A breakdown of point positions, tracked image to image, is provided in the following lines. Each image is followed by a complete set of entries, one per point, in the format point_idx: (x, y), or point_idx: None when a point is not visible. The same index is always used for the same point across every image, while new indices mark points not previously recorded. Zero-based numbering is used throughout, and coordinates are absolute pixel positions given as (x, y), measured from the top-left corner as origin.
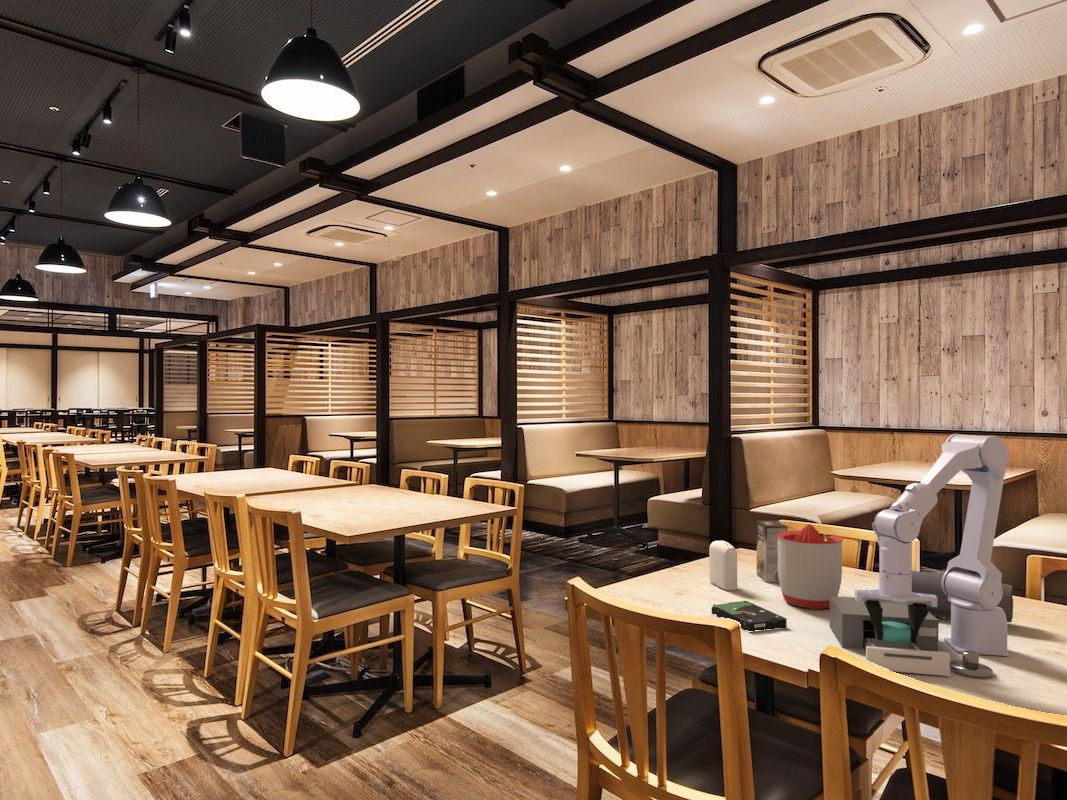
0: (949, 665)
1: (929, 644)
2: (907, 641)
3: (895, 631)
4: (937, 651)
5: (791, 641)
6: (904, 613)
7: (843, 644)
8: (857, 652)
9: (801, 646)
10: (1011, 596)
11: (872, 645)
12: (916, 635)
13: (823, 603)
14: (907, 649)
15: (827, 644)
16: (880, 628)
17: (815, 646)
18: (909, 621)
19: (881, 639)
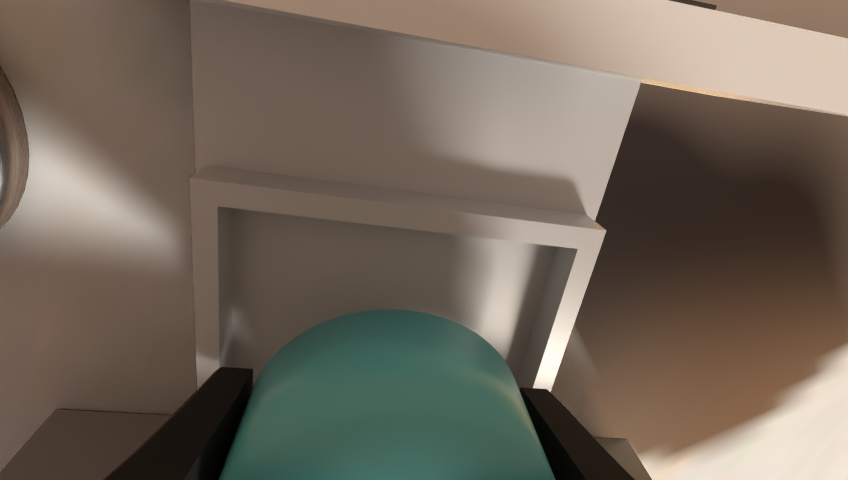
0: (5, 156)
1: (75, 470)
2: (313, 335)
3: (461, 404)
4: (45, 428)
5: (838, 477)
6: None
7: (627, 454)
8: (578, 383)
9: (839, 422)
10: None
11: (555, 373)
12: (178, 414)
13: None
14: (446, 27)
15: (677, 468)
16: (595, 472)
17: (763, 433)
18: None
19: (525, 392)
